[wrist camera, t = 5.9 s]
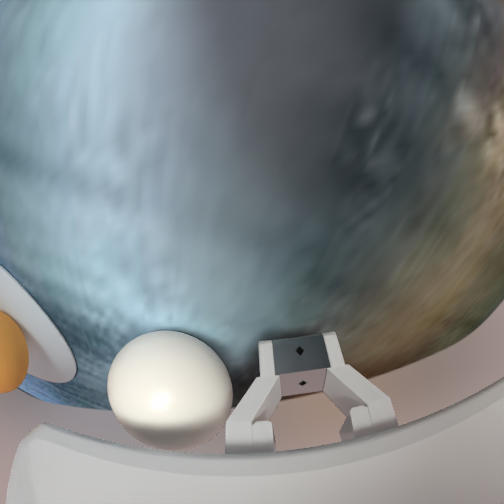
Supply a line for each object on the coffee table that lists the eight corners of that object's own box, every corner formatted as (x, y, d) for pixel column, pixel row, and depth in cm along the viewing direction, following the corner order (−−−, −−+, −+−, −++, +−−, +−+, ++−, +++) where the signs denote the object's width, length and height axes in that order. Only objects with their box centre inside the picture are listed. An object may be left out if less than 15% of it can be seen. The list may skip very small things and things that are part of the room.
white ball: (228, 416, 7) (177, 284, 10) (94, 458, 6) (76, 338, 10) (265, 428, 11) (222, 339, 14) (169, 463, 10) (141, 377, 14)
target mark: (-69, 253, 9) (-70, 255, 9) (-3, 221, 8) (-5, 222, 8) (10, 369, 17) (9, 370, 17) (110, 390, 16) (109, 392, 16)
